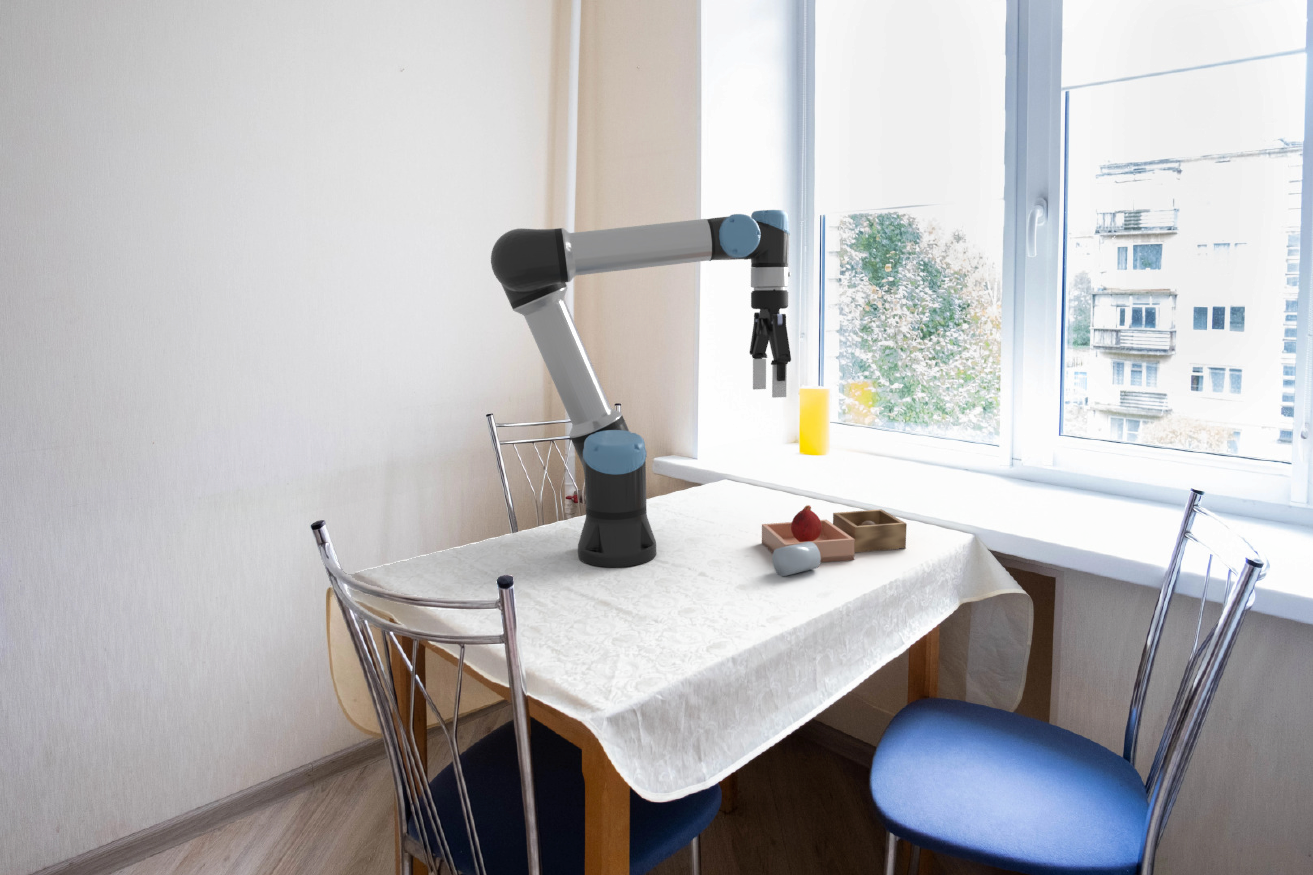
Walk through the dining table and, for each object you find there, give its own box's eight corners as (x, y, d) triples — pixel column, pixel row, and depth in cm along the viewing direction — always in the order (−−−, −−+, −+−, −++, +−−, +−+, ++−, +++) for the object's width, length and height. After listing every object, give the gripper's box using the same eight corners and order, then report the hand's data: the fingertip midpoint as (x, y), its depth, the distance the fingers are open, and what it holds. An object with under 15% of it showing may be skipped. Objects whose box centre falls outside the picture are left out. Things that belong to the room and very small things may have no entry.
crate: (854, 552, 157) (855, 527, 156) (832, 536, 167) (833, 512, 167) (905, 548, 159) (906, 523, 158) (880, 532, 169) (881, 509, 168)
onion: (805, 551, 155) (806, 510, 153) (784, 544, 159) (785, 504, 158) (827, 546, 158) (828, 506, 156) (806, 539, 162) (807, 500, 161)
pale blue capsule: (790, 579, 143) (790, 552, 142) (771, 571, 147) (772, 544, 147) (820, 572, 147) (820, 545, 146) (801, 564, 151) (802, 538, 150)
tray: (784, 565, 150) (785, 544, 150) (761, 543, 164) (761, 524, 163) (854, 559, 153) (854, 539, 152) (825, 538, 166) (826, 519, 165)
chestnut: (863, 541, 161) (864, 524, 160) (856, 536, 165) (856, 519, 164) (880, 540, 162) (881, 522, 161) (872, 535, 165) (873, 517, 165)
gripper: (808, 288, 155) (807, 400, 159) (768, 288, 179) (768, 385, 183) (770, 289, 153) (769, 401, 157) (735, 289, 178) (735, 386, 181)
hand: (768, 393), depth 170 cm, fingers open, 13 cm apart
